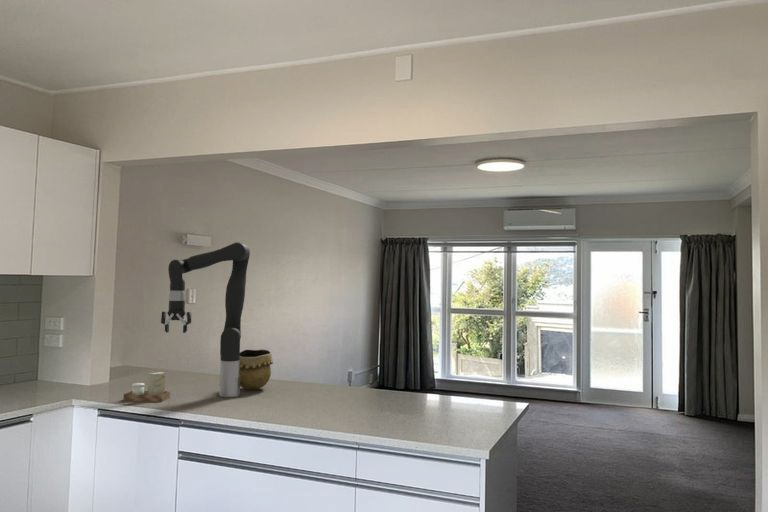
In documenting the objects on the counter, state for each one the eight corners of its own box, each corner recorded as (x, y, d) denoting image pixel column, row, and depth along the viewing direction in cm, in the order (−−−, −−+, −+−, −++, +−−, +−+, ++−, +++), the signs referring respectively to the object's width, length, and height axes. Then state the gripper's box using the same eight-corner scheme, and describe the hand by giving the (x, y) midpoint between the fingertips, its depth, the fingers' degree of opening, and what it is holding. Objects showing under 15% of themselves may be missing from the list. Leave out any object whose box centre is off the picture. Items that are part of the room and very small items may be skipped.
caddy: (169, 399, 271) (170, 391, 271) (162, 403, 261) (162, 395, 262) (132, 398, 271) (132, 390, 271) (123, 402, 262) (123, 394, 262)
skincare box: (152, 401, 262) (153, 374, 263) (147, 399, 265) (148, 373, 266) (164, 399, 268) (165, 372, 268) (159, 397, 270) (160, 371, 271)
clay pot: (264, 394, 287) (265, 353, 288) (224, 392, 290) (225, 352, 291) (278, 387, 307) (279, 349, 308) (240, 385, 311) (241, 348, 312)
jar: (145, 398, 269) (146, 383, 269) (141, 400, 264) (141, 384, 264) (134, 397, 269) (135, 382, 269) (129, 400, 264) (130, 384, 264)
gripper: (193, 299, 289) (192, 332, 288) (165, 299, 289) (164, 331, 288) (188, 300, 282) (187, 333, 281) (159, 299, 282) (158, 333, 281)
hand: (175, 332), depth 285 cm, fingers open, 8 cm apart
